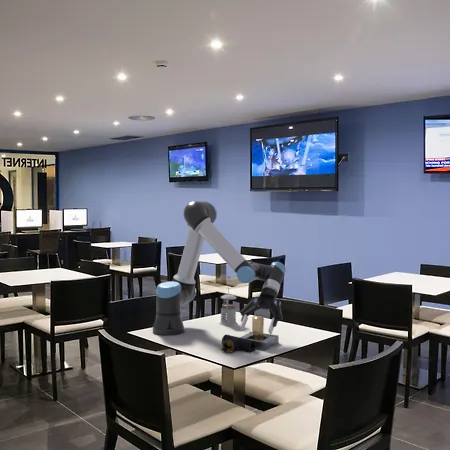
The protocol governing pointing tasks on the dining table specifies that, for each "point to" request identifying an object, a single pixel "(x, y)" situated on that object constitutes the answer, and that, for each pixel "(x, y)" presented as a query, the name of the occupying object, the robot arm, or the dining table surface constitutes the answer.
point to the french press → (228, 311)
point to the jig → (264, 341)
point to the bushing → (257, 328)
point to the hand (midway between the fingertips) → (255, 330)
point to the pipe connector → (237, 344)
